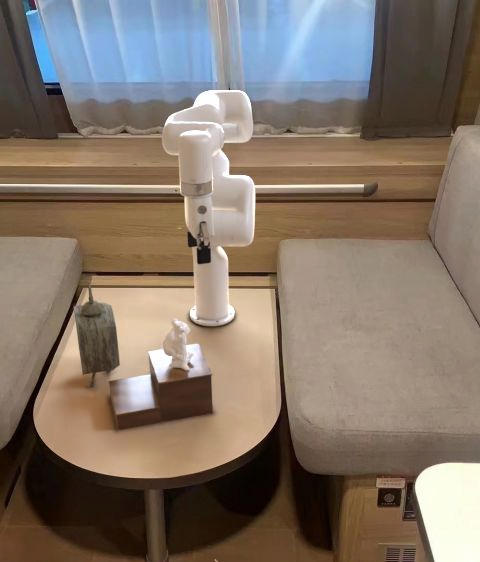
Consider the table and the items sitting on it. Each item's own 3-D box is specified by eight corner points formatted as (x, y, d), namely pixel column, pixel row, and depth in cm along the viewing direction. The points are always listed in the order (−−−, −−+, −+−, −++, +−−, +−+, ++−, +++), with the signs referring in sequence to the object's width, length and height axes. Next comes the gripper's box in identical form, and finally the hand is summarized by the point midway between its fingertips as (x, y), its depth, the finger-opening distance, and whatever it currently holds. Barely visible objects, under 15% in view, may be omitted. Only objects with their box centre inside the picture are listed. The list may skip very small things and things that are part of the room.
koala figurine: (197, 372, 170) (195, 326, 165) (168, 376, 169) (165, 330, 163) (190, 352, 177) (188, 307, 172) (162, 356, 176) (159, 311, 171)
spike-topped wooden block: (80, 360, 195) (69, 274, 184) (115, 355, 197) (106, 269, 186) (85, 392, 183) (73, 302, 171) (122, 387, 185) (113, 297, 173)
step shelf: (110, 396, 181) (106, 357, 176) (199, 381, 186) (198, 343, 181) (118, 430, 170) (113, 390, 165) (213, 413, 174) (212, 373, 169)
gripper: (222, 197, 165) (223, 268, 173) (203, 172, 180) (205, 238, 188) (188, 201, 164) (192, 272, 171) (172, 176, 178) (176, 242, 186)
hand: (199, 254), depth 180 cm, fingers open, 9 cm apart
